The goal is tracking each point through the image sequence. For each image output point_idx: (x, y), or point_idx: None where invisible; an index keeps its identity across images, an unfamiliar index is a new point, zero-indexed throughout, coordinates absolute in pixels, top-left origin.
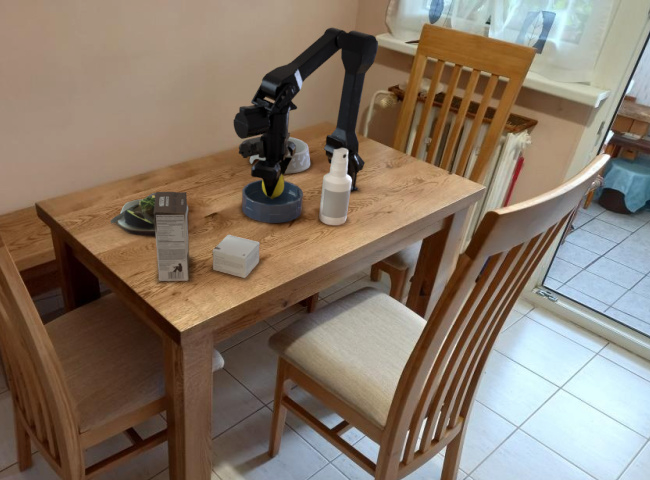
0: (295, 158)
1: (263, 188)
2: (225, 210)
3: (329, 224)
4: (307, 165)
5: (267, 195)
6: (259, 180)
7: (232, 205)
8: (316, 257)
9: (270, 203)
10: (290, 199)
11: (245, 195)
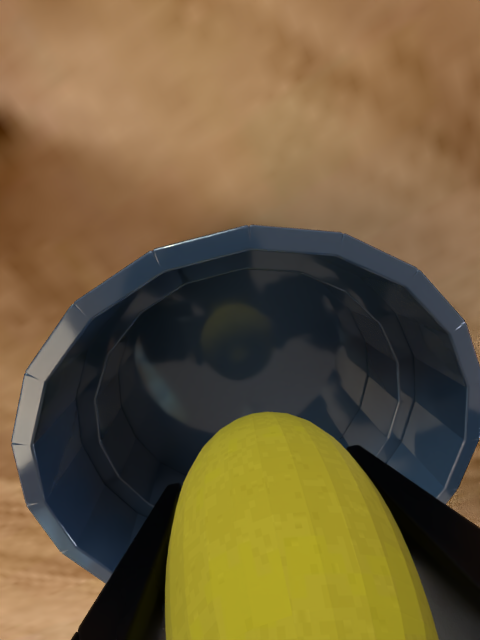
0: None
1: (189, 481)
2: (86, 167)
3: None
4: None
5: (166, 490)
6: (428, 290)
7: (175, 174)
8: (23, 633)
9: (299, 358)
10: (357, 435)
11: (64, 339)
